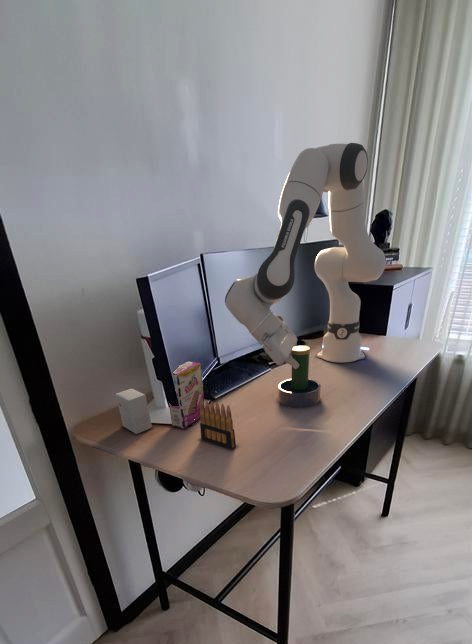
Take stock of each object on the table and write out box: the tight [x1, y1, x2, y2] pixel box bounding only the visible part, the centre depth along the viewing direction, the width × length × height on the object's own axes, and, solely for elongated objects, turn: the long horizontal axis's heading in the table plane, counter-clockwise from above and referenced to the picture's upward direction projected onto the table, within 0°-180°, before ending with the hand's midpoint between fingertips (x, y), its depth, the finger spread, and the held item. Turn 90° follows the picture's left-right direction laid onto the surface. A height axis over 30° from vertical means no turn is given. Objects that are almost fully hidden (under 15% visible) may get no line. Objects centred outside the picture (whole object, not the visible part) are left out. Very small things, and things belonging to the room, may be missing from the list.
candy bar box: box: [168, 361, 205, 430], centre depth 117 cm, size 11×5×16 cm, turn 149°
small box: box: [114, 388, 153, 435], centre depth 117 cm, size 8×6×10 cm
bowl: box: [277, 378, 322, 409], centre depth 128 cm, size 13×13×5 cm
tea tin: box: [290, 345, 311, 390], centre depth 124 cm, size 5×5×12 cm
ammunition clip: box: [199, 398, 237, 450], centre depth 105 cm, size 11×2×12 cm, turn 53°
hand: (299, 363), depth 123 cm, fingers closed on tea tin, 5 cm apart
